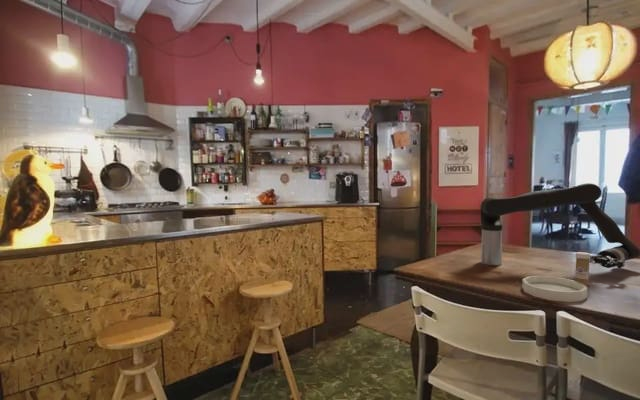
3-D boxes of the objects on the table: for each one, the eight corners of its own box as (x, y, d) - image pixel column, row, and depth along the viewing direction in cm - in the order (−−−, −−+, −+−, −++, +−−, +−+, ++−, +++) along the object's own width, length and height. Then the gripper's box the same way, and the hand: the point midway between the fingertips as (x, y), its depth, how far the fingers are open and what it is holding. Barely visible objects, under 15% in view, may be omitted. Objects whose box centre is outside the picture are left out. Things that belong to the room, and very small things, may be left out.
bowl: (527, 298, 131) (527, 288, 130) (519, 282, 149) (520, 274, 149) (593, 304, 123) (594, 294, 123) (577, 287, 141) (577, 278, 141)
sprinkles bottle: (574, 286, 142) (575, 253, 141) (575, 283, 146) (576, 251, 145) (588, 288, 139) (589, 254, 138) (589, 285, 143) (590, 252, 142)
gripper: (591, 246, 162) (575, 251, 154) (631, 252, 150) (616, 257, 142) (591, 262, 163) (575, 268, 154) (631, 269, 151) (615, 276, 142)
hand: (594, 263), depth 148 cm, fingers open, 8 cm apart
